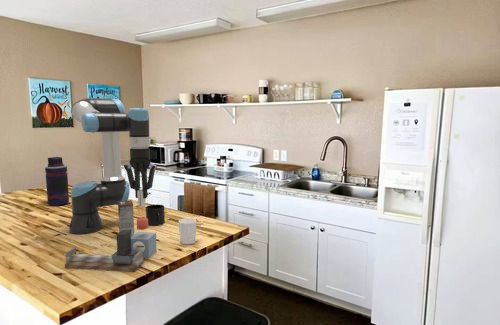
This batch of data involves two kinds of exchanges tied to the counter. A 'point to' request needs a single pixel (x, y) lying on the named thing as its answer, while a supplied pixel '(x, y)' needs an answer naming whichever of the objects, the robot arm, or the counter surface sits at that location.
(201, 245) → the counter surface
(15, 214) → the counter surface
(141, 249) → the pale blue block
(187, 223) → the white cup
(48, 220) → the counter surface
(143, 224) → the plunger
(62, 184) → the striped navy bottle
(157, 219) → the mug
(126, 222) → the coffee box
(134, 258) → the rail
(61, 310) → the counter surface
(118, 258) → the carriage
